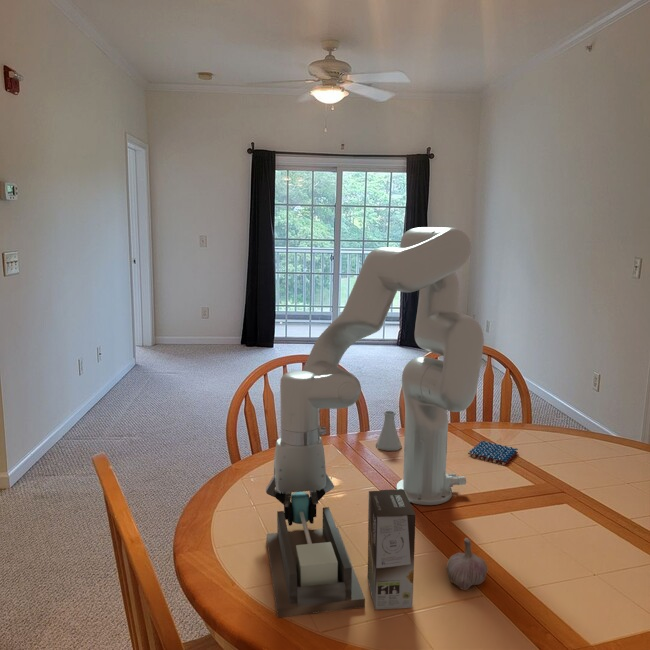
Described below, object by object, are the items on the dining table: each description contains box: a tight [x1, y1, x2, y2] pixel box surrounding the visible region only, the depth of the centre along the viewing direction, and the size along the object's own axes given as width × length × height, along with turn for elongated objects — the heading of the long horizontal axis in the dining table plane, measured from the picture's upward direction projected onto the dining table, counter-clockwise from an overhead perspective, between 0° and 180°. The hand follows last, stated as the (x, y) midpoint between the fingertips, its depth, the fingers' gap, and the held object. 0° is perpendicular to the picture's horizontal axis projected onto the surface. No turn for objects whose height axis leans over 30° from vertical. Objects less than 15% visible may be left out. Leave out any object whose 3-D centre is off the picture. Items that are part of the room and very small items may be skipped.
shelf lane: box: [266, 506, 366, 618], centre depth 99 cm, size 14×22×6 cm, turn 10°
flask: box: [375, 410, 403, 452], centre depth 155 cm, size 7×7×10 cm
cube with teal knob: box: [290, 491, 338, 587], centre depth 102 cm, size 6×25×5 cm, turn 10°
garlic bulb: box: [446, 537, 488, 591], centre depth 96 cm, size 8×7×8 cm
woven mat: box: [467, 440, 519, 466], centre depth 151 cm, size 10×11×2 cm
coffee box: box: [366, 488, 417, 610], centre depth 93 cm, size 9×6×16 cm
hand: (300, 520), depth 113 cm, fingers closed on cube with teal knob, 3 cm apart
